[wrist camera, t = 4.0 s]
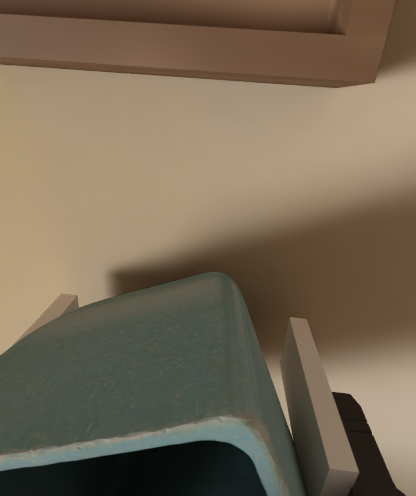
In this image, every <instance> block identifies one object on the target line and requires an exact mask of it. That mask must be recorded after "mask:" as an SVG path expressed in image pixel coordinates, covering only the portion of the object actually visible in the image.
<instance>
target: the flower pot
mask: <svg viewBox="0 0 416 496" xmlns="http://www.w3.org/2000/svg"><path fill="white" fill-rule="evenodd" d="M0 496H308V495H307V491H306V487H305V483H304V479H303V475H302V471H301V467H300V463H299V459H298V455H297V451H296V448H295V445H294V441H293V439H292V436H291V433H290V430H289V428H288V425H287V422H286V419H285V416H284V414H283V411H282V408H281V405H280V402H279V399H278V396H277V393H276V390H275V387H274V385H273V382H272V379H271V376H270V373H269V370H268V367H267V364H266V362H265V359H264V356H263V353H262V350H261V347H260V344H259V341H258V339H257V336H256V333H255V330H254V327H253V324H252V321H251V318H250V315H249V312H248V309H247V306H246V303H245V300H244V298H243V296H242V293H241V291H240V289H239V287H238V285H237V284H236V283H235V281H234V280H233V279H232V278H231V277H229V276H228V275H226V274H224V273H221V272H207V273H202V274H199V275H195V276H191V277H187V278H183V279H180V280H176V281H172V282H169V283H165V284H161V285H157V286H153V287H150V288H146V289H142V290H138V291H134V292H130V293H126V294H122V295H119V296H116V297H112V298H108V299H104V300H101V301H98V302H95V303H92V304H88V305H86V306H83V307H80V308H78V309H75V310H73V311H71V312H68V313H66V314H64V315H62V316H60V317H58V318H56V319H54V320H52V321H50V322H48V323H47V324H45V325H43V326H41V327H39V328H38V329H36V330H35V331H33V332H31V333H30V334H28V335H27V336H25V337H24V338H23V339H21V340H20V341H18V342H17V343H16V344H14V345H13V346H12V347H11V348H9V349H8V350H7V351H5V352H4V353H3V354H2V355H0Z"/></svg>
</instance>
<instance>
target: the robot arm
mask: <svg viewBox="0 0 416 496" xmlns="http://www.w3.org/2000/svg"><path fill="white" fill-rule="evenodd" d="M78 308H79V305H78V296H77V295H68V294H61V295H60V296H59V297H58V298H57V299H56V300H55V301H54V302H53V303H52V304H51V305H50V307H49V308H48V309H47V310H46V311H45V312H44V313H43V314H42V315H41V316H40V317H39V318H38V319H37V320H36V321H35V322H34V324H33V325H32V326H31V327H30V328H29V329H28V330H27V331H26V332H25V333H24V334H23V335H22V336H21V337H20V338H19V339H18V341H20V340H21V339H23V338H24V337H25V336H27V335H28V334H30V333H31V332H33V331H35V330H36V329H38V328H39V327H41V326H43V325H45V324H47V323H48V322H50V321H52V320H54V319H56V318H58V317H60V316H62V315H64V314H66V313H68V312H71V311H73V310H75V309H78ZM18 341H17V342H18ZM17 342H16V343H17ZM16 343H15V344H16ZM280 367H281V373H282V379H283V384H284V390H285V395H286V401H287V407H288V412H289V418H290V424H291V429H292V435H293V440H294V445H295V448H296V451H297V455H298V459H299V463H300V467H301V471H302V475H303V479H304V483H305V487H306V491H307V495H308V496H405V494H404V493H402V492H401V491H399V490H398V489H397V488H396V486H395V485H394V483H393V481H392V479H391V476H390V474H389V472H388V469H387V467H386V465H385V462H384V460H383V457H382V455H381V453H380V450H379V448H378V446H377V443H376V441H375V439H374V436H372V432H371V429H370V427H369V425H368V424H367V420H366V418H365V415H364V413H363V410H362V408H361V406H360V405H359V404H358V403H357V402H356V400H355V399H354V398H353V397H352V396H351V395H350V394H346V393H337V392H331V389H330V386H329V383H328V380H327V377H326V374H325V371H324V369H323V366H322V363H321V360H320V357H319V354H318V351H317V348H316V345H315V342H314V340H313V337H312V334H311V331H310V328H309V325H308V322H307V319H303V318H293V317H289V322H288V327H287V331H286V336H285V341H284V345H283V350H282V355H281V360H280Z"/></svg>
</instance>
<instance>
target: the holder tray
mask: <svg viewBox="0 0 416 496" xmlns="http://www.w3.org/2000/svg"><path fill="white" fill-rule="evenodd" d="M395 3H396V0H0V64H3V65H17V66H31V67H46V68H60V69H74V70H88V71H102V72H117V73H131V74H145V75H159V76H174V77H188V78H202V79H216V80H230V81H245V82H259V83H273V84H287V85H301V86H316V87H330V88H340V87H348V86H355V85H362V84H369V83H375V80H376V76H377V72H378V68H379V64H380V60H381V57H382V53H383V49H384V45H385V41H386V37H387V33H388V30H389V26H390V22H391V18H392V14H393V10H394V6H395Z"/></svg>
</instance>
